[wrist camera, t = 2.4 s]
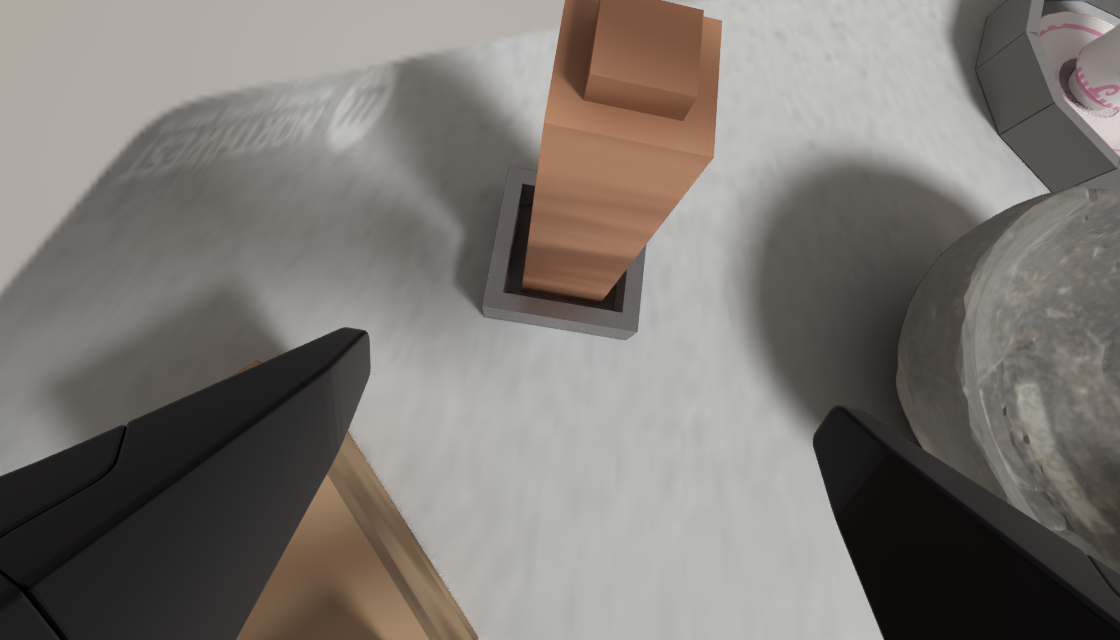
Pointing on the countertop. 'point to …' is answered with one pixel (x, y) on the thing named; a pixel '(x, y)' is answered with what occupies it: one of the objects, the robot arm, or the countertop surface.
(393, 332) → the countertop surface
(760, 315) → the countertop surface
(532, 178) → the frame
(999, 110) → the coaster ring
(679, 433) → the countertop surface
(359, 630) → the lid
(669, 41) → the reddish brown rectangular block
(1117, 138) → the teacup
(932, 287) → the bowl
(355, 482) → the light brown wooden box
